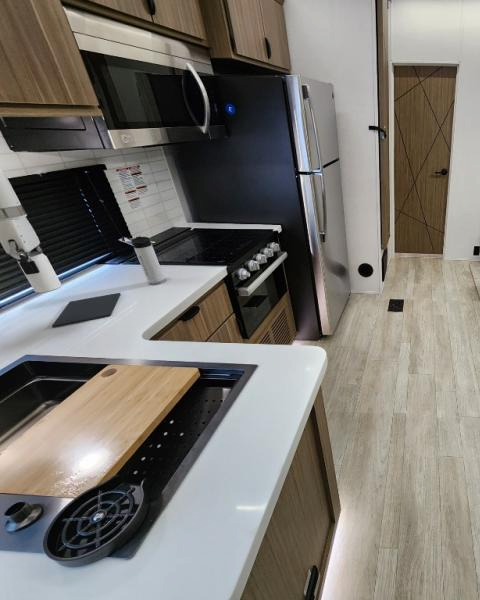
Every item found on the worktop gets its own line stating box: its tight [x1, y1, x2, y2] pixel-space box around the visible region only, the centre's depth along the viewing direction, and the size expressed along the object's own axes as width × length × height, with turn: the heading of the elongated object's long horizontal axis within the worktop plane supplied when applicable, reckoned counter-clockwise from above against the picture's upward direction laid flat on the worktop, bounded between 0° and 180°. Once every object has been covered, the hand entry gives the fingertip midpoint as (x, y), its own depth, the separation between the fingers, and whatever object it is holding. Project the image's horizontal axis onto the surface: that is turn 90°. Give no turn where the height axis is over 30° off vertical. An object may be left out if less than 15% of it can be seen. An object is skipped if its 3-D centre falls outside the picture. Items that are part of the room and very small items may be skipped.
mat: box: [51, 292, 122, 329], centre depth 124 cm, size 16×20×1 cm
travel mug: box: [130, 235, 166, 286], centre depth 141 cm, size 6×7×20 cm
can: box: [18, 251, 62, 294], centre depth 105 cm, size 6×6×12 cm
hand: (37, 269), depth 105 cm, fingers closed on can, 6 cm apart
